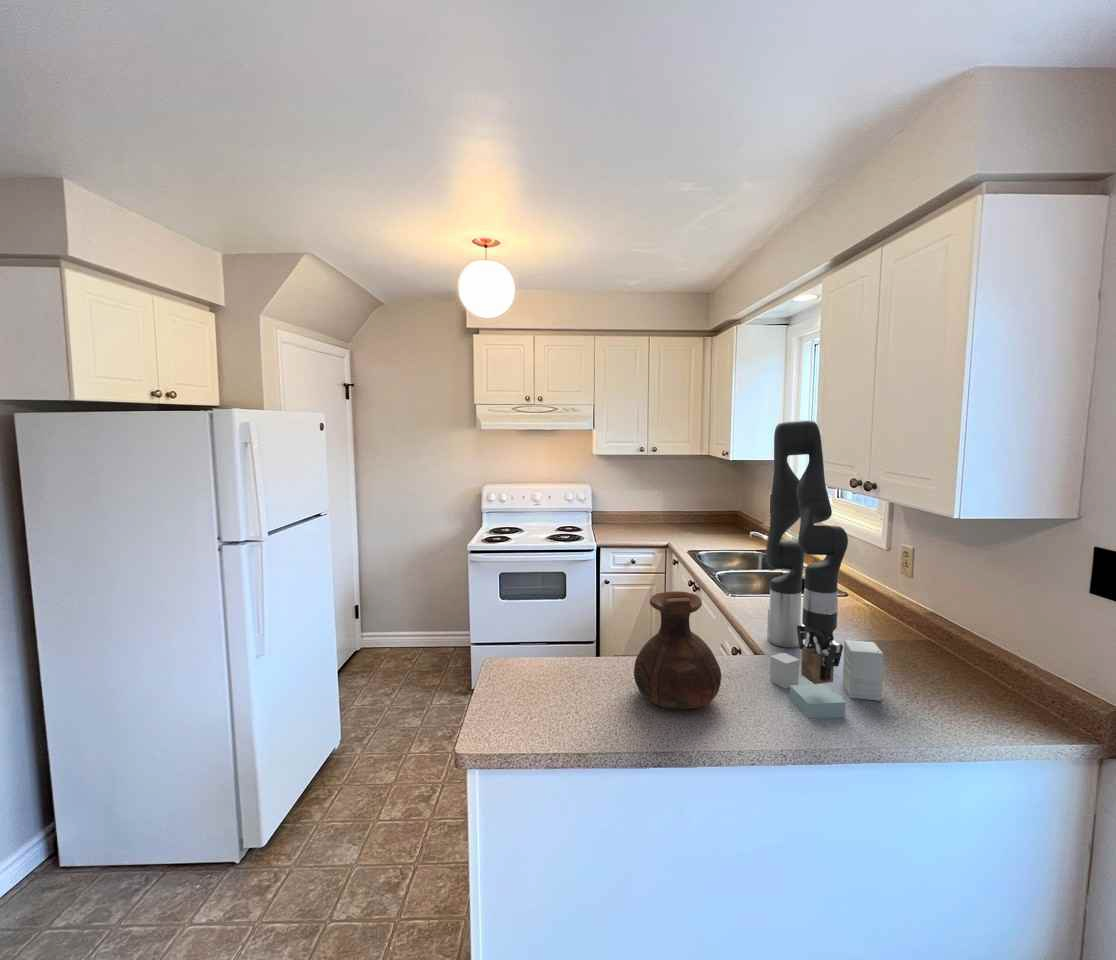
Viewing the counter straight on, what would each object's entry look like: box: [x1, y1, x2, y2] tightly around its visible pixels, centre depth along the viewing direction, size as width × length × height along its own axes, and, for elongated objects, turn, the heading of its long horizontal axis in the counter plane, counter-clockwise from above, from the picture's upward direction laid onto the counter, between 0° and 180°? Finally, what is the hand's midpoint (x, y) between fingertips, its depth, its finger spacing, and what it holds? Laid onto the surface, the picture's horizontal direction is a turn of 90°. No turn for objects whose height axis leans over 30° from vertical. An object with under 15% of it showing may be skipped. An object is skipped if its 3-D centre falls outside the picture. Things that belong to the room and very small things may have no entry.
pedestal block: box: [788, 683, 846, 719], centre depth 129 cm, size 9×9×4 cm
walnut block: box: [800, 647, 835, 684], centre depth 128 cm, size 5×5×7 cm
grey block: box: [769, 652, 800, 689], centre depth 142 cm, size 5×5×7 cm
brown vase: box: [633, 590, 722, 710], centre depth 133 cm, size 22×22×30 cm
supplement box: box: [842, 639, 884, 702], centre depth 135 cm, size 7×7×13 cm
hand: (817, 674), depth 128 cm, fingers closed on walnut block, 5 cm apart
